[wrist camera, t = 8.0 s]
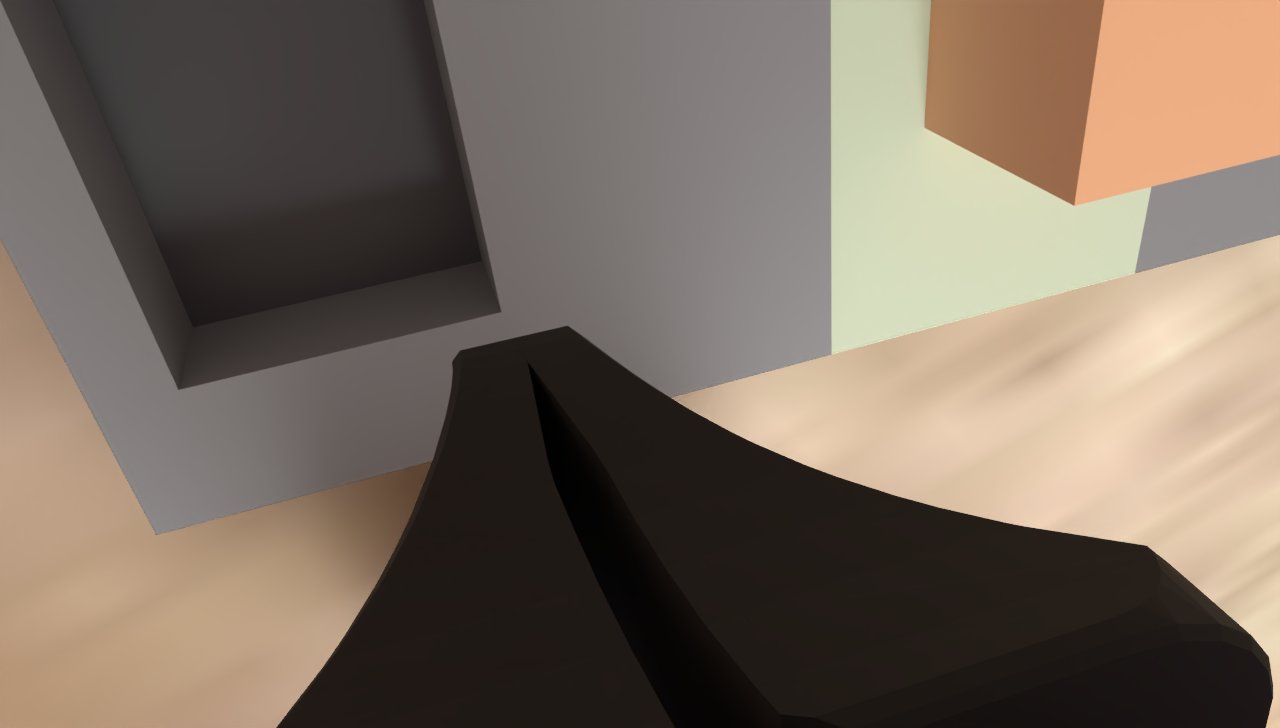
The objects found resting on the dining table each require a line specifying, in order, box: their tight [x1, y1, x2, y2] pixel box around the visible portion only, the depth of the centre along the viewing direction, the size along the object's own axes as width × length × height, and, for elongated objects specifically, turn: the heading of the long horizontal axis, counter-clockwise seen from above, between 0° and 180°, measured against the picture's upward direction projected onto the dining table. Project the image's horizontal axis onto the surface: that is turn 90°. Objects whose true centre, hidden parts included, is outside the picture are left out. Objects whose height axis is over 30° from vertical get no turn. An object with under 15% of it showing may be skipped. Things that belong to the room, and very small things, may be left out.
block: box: [924, 0, 1280, 206], centre depth 16 cm, size 4×4×4 cm
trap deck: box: [0, 0, 1280, 535], centre depth 19 cm, size 14×32×3 cm, turn 96°
